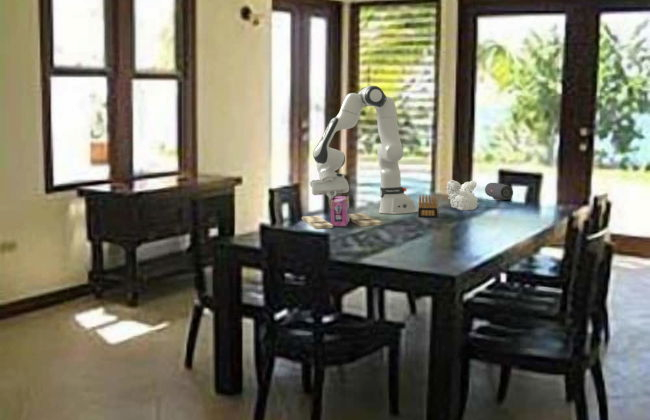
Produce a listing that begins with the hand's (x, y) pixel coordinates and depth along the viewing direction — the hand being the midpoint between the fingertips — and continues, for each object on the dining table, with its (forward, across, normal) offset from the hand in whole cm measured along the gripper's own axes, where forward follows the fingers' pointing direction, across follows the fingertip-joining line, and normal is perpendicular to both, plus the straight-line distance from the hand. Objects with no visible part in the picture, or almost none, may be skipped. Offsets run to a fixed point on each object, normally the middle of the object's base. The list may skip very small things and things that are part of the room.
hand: (332, 198), depth 483 cm
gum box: (+23, -1, -7) cm, 24 cm away
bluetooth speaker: (-20, +111, +41) cm, 120 cm away
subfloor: (+19, 0, -4) cm, 20 cm away
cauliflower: (+2, +77, +18) cm, 79 cm away
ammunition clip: (+22, +47, -4) cm, 52 cm away
